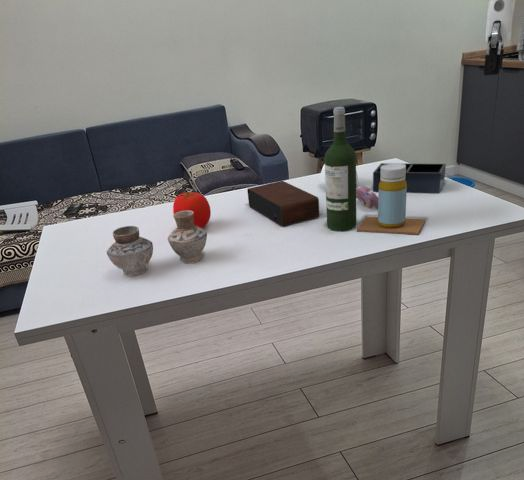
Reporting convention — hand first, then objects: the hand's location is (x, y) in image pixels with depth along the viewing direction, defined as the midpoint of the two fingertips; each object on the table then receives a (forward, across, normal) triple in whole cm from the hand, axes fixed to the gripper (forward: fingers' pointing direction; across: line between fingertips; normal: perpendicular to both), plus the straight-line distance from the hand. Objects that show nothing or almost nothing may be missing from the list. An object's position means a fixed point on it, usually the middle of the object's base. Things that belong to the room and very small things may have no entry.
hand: (492, 71), depth 125 cm
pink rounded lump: (+34, +3, +30) cm, 46 cm away
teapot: (+34, +20, +44) cm, 59 cm away
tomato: (+34, -22, +75) cm, 85 cm away
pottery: (+34, -47, +70) cm, 91 cm away
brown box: (+34, -5, +54) cm, 64 cm away
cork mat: (+34, -12, +20) cm, 41 cm away
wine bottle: (+34, -14, +33) cm, 50 cm away
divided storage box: (+34, +22, +22) cm, 46 cm away
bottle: (+34, -12, +20) cm, 41 cm away
